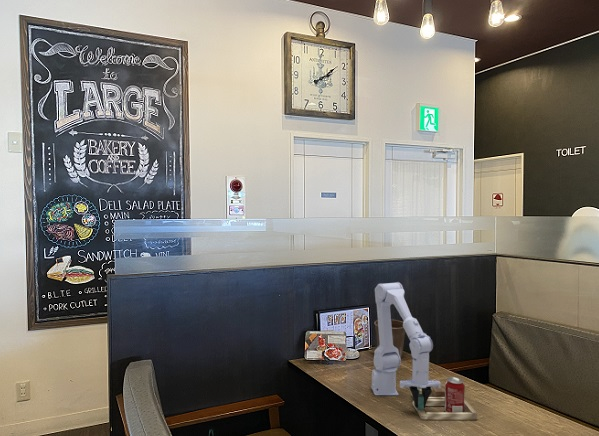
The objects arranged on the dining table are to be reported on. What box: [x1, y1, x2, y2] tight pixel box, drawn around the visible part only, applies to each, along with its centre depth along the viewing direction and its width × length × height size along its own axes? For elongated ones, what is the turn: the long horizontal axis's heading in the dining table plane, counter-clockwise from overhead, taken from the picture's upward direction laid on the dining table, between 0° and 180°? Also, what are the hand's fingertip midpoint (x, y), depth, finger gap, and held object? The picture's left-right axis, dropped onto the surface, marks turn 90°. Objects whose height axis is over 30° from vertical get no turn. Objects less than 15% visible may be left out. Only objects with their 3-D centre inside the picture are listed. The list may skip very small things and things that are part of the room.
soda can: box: [443, 376, 466, 412], centre depth 166 cm, size 7×7×12 cm
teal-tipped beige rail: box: [412, 394, 478, 421], centre depth 166 cm, size 20×12×6 cm, turn 91°
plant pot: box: [373, 319, 407, 358], centre depth 228 cm, size 16×16×16 cm
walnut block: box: [431, 386, 445, 397], centre depth 177 cm, size 4×4×4 cm
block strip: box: [410, 387, 445, 399], centre depth 177 cm, size 15×8×4 cm, turn 91°
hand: (419, 406), depth 166 cm, fingers closed on teal-tipped beige rail, 2 cm apart
